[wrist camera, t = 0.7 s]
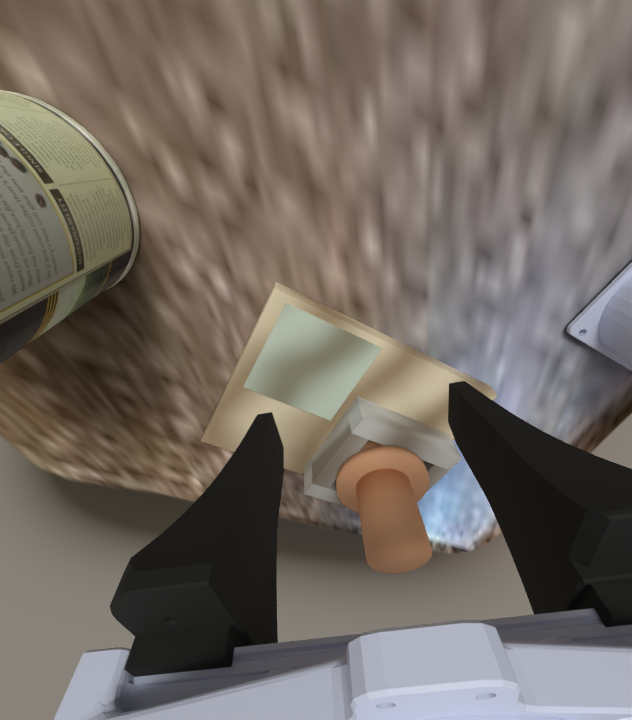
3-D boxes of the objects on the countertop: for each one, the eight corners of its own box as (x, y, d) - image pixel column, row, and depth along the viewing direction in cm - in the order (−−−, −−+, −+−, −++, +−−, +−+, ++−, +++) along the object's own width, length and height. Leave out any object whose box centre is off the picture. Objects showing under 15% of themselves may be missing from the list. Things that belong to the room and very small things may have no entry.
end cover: (433, 438, 27) (479, 540, 20) (385, 488, 30) (411, 592, 23) (361, 408, 25) (383, 510, 18) (318, 465, 28) (323, 571, 21)
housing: (490, 386, 26) (515, 418, 23) (387, 492, 32) (396, 528, 29) (275, 281, 21) (270, 304, 18) (204, 430, 28) (191, 466, 24)
